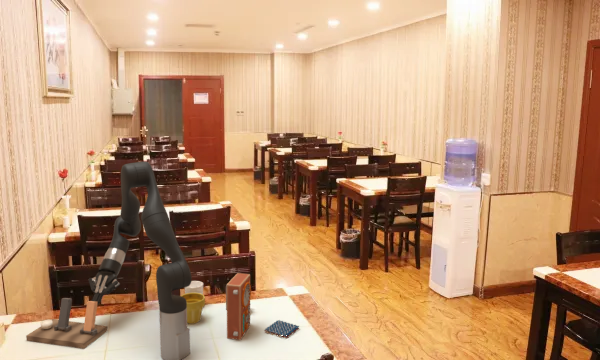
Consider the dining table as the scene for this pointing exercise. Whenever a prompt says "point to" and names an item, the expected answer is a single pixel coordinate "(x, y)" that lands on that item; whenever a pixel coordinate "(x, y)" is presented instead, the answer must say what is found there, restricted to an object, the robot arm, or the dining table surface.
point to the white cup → (194, 287)
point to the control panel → (238, 306)
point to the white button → (46, 324)
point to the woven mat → (281, 328)
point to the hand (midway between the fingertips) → (95, 303)
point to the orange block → (90, 316)
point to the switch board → (67, 335)
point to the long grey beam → (64, 313)
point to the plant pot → (194, 306)
